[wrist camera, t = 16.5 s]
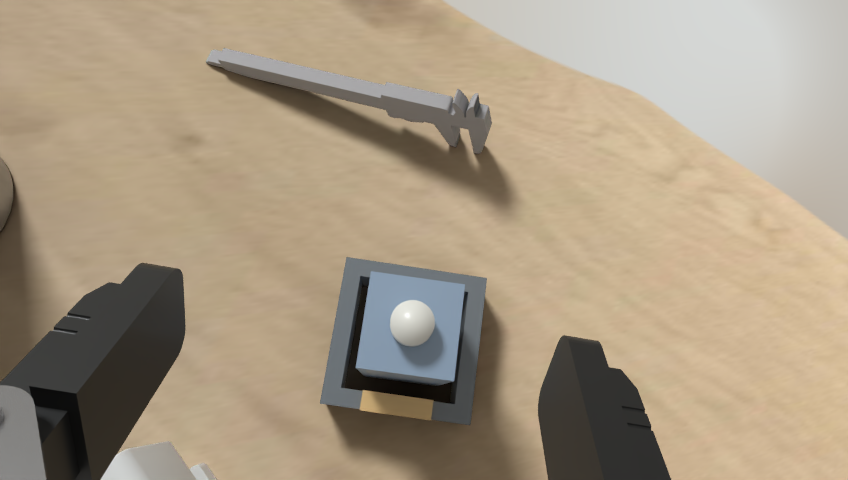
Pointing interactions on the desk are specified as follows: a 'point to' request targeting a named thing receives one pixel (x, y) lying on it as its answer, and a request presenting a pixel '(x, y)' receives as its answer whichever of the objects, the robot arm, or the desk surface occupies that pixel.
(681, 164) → the desk surface
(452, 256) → the desk surface
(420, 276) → the pocket plate
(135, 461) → the security camera
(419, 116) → the caliper
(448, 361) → the blue gray block
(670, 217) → the desk surface
